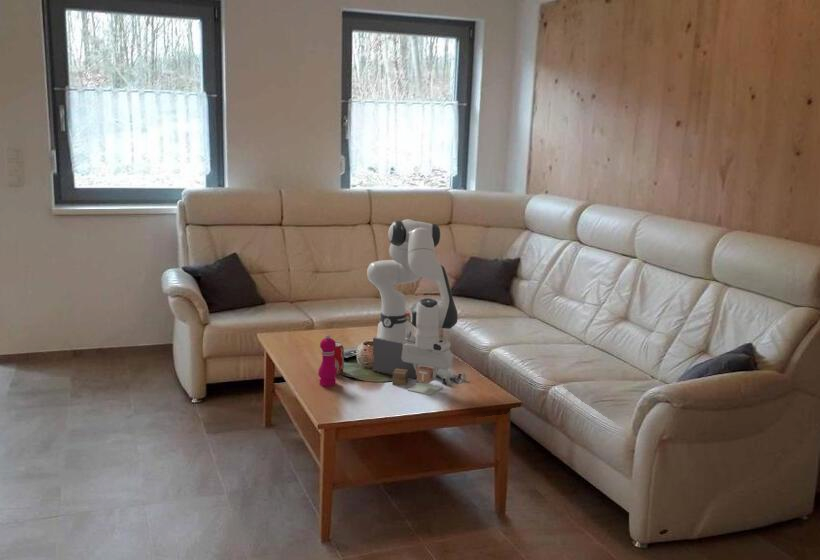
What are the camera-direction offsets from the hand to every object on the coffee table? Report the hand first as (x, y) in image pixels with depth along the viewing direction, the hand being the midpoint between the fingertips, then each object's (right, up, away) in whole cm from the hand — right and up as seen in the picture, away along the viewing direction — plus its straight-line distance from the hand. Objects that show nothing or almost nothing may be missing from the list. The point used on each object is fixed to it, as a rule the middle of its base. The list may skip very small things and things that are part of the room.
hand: (425, 376), depth 297 cm
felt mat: (0, -5, +1) cm, 5 cm away
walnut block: (-10, -4, +7) cm, 13 cm away
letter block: (0, -2, 0) cm, 2 cm away
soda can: (-37, -1, +17) cm, 41 cm away
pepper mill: (-38, -4, +4) cm, 39 cm away
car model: (+5, -3, +17) cm, 18 cm away
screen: (-12, -1, +18) cm, 21 cm away
